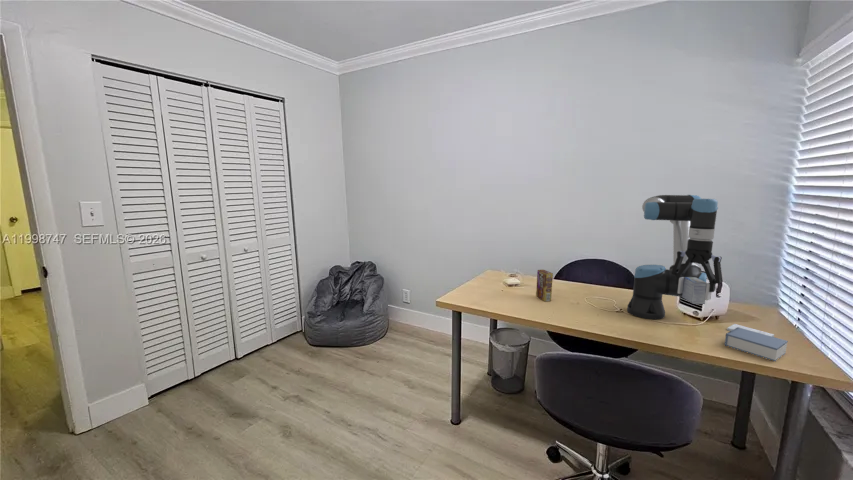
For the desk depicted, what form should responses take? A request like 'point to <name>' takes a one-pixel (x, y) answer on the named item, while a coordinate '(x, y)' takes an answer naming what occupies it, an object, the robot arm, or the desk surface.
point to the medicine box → (694, 290)
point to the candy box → (544, 285)
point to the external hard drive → (748, 329)
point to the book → (756, 343)
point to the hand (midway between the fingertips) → (693, 296)
